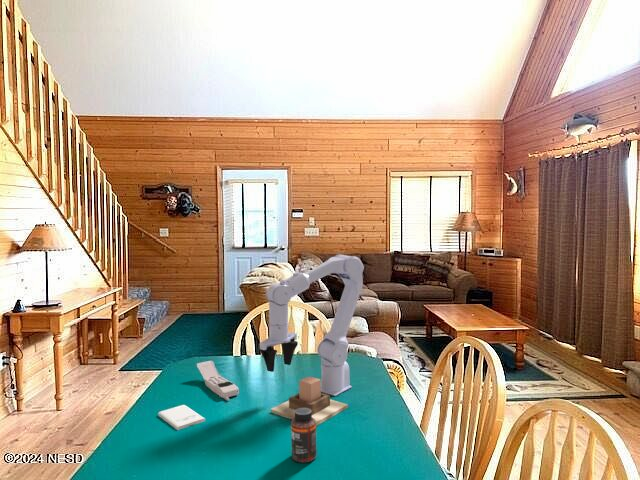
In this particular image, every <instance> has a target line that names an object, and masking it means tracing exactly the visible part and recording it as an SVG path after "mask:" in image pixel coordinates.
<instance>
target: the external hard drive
mask: <svg viewBox="0 0 640 480" xmlns="http://www.w3.org/2000/svg"><path fill="white" fill-rule="evenodd" d="M157 414H158V417H159V418H161V419H162V420H163V421H165V422H166V423H168V424H169V425H170V426H171V427H173V428H174V429H175V430H177V431H179V430H182V429H185V428H189V427H191V426H195V425H197V424H201V423H204V422H206V418H205V417H203V416H202V415H200V414H199V413H197V412H196V411H195V410H193V409H191V408H190V407H189V406H187V405H185V404H182V405H181V404H180V405H178V406H175V407H171V408H168V409H164V410H161V411H159V412H158V413H157Z"/></svg>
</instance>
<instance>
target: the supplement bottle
mask: <svg viewBox="0 0 640 480" xmlns="http://www.w3.org/2000/svg"><path fill="white" fill-rule="evenodd" d="M290 433H291V437H290V438H291V439H290V440H291V457H292V459H293V460H294V461H296V462H298V463H309V462H312V461H314V460H315V459H316V457H317V451H318V450H317V426H316V421H315V419H314V418H312V411H311V409H309V408H299V409H297V410H295V418H294V419H293V420H291V422H290Z"/></svg>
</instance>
